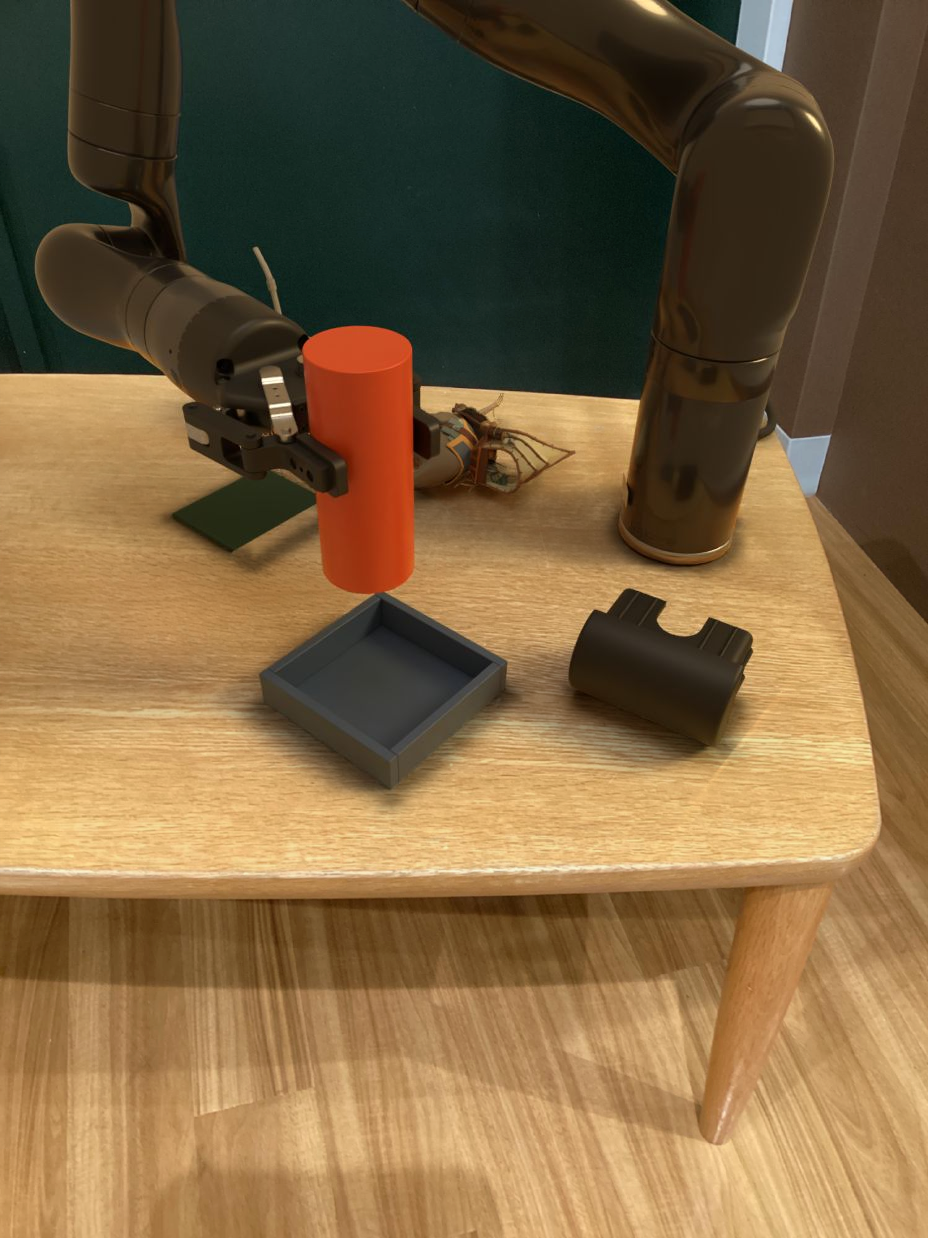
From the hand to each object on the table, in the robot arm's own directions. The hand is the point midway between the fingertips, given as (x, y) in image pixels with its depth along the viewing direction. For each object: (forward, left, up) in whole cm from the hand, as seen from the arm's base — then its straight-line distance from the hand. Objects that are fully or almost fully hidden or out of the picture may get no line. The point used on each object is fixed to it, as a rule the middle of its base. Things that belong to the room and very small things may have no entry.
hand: (390, 460), depth 49 cm
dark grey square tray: (0, -1, -18) cm, 19 cm away
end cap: (-11, +13, -19) cm, 25 cm away
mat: (-9, -24, -18) cm, 31 cm away
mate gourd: (-22, -34, -19) cm, 44 cm away
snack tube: (0, -2, -8) cm, 9 cm away
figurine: (-26, -14, -19) cm, 35 cm away
